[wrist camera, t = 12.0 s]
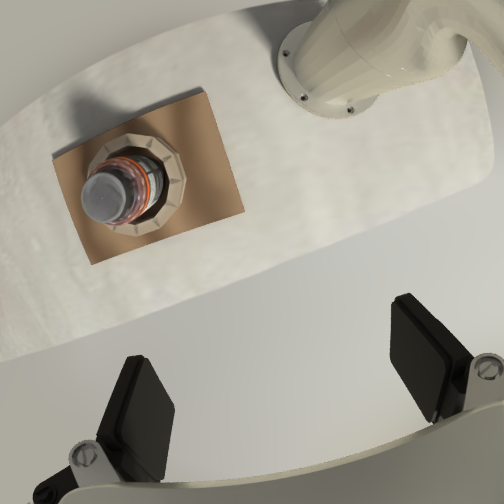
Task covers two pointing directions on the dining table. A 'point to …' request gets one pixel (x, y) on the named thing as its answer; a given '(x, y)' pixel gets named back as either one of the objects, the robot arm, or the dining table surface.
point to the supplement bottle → (122, 189)
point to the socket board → (175, 169)
